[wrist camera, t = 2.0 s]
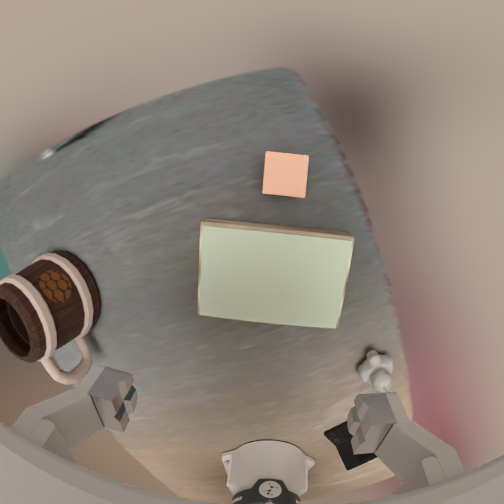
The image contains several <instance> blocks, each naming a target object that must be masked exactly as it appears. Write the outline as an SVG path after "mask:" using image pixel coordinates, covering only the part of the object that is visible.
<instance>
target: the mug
mask: <svg viewBox="0 0 504 504" xmlns="http://www.w3.org/2000/svg"><path fill="white" fill-rule="evenodd" d="M99 309H100V303H99V296H98V291H97V288H96V286H95V283H94V281H93V278H92V276H91V275H90V273H89V272H88V270H87V269H86V267H85V266H84V265H83V264H82V263H81V262H80V261H79V260H78V259H77V258H76V257H75V256H73V255H71V254H69V253H67V252H65V251H54V252H51V253H45V254H43V255H40V256H38V257H37V258H36V259H34V261H33V262H32V264H31V265H30V266H28V267H27V268H25V269H23V270H22V271H20V272H19V273H17V274H15V275H14V274H11V275H9V276H7V277H5V278H4V279H2V280H1V281H0V339H1V340H2V342H3V343H4V345H5V346H6V347H7V349H8V350H9V351H10V352H11V353H12V354H14V355H15V356H16V357H17V358H19V359H21V360H24V361H26V362H28V363H29V362H36V361H41V363H42V364H43V366H44V367H45V369H46V370H47V372H48V373H49V374H50V375H51V377H52V378H53V379H54V380H55V381H57V382H60V383H62V384H75V383H77V382H78V381H79V380H80V379H82V378H83V377H84V376H85V375H86V374H87V373H88V371H89V369H90V367H91V365H92V356H91V350H90V348H89V345H88V343H87V342H86V340H85V338H84V337H83V336H85V335H86V334H87V333H88V332H89V330H90V329H91V328H92V327H93V326H94V325H95V323H96V321H97V319H98V317H99ZM70 341H75V342H76V344H77V345H78V347H79V349H80V351H81V353H82V360H81V361H80V363H79V364H78V365H77V366H76V367H75V368H74V369H72V370H71V371H70V372H64V371H62V370H60V369H59V368H58V366H57V365H56V363H55V362H54V360H53V359H52V358H51V356H52V355H53V354H54V352H55V350H57V349H58V348H60V347H62V346H63V345H65V344H66V343H68V342H70Z"/></svg>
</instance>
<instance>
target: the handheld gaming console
mask: <svg viewBox="0 0 504 504" xmlns="http://www.w3.org/2000/svg"><path fill="white" fill-rule="evenodd" d="M324 435H325V436H326V437H327V438H328V439H329V440H330V441H331V442H332V443H333V444H334V445H335V446H336V448H337V449H338V452H339V454H340V456H341V458H342V461H343V463H344V465H345V467H346V469H347V470H350V469H352V468H355V467H357V466H359V465H361V464H364V463H366V462H368V461H370V460H372V459H374V458H376V457H377V456H376V455H375V453H365V454H354V453H353V448H352V444H351V440H352V438H353V435H352V434H351V433H349V431H348V426H347V421H346V422H344V423H342V424H340V425H338V426H336V427H334V428H332V429H331V430H327V431H325V432H324ZM343 446H344V447H343ZM341 447H342V448H341ZM339 448H340V449H339Z"/></svg>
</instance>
